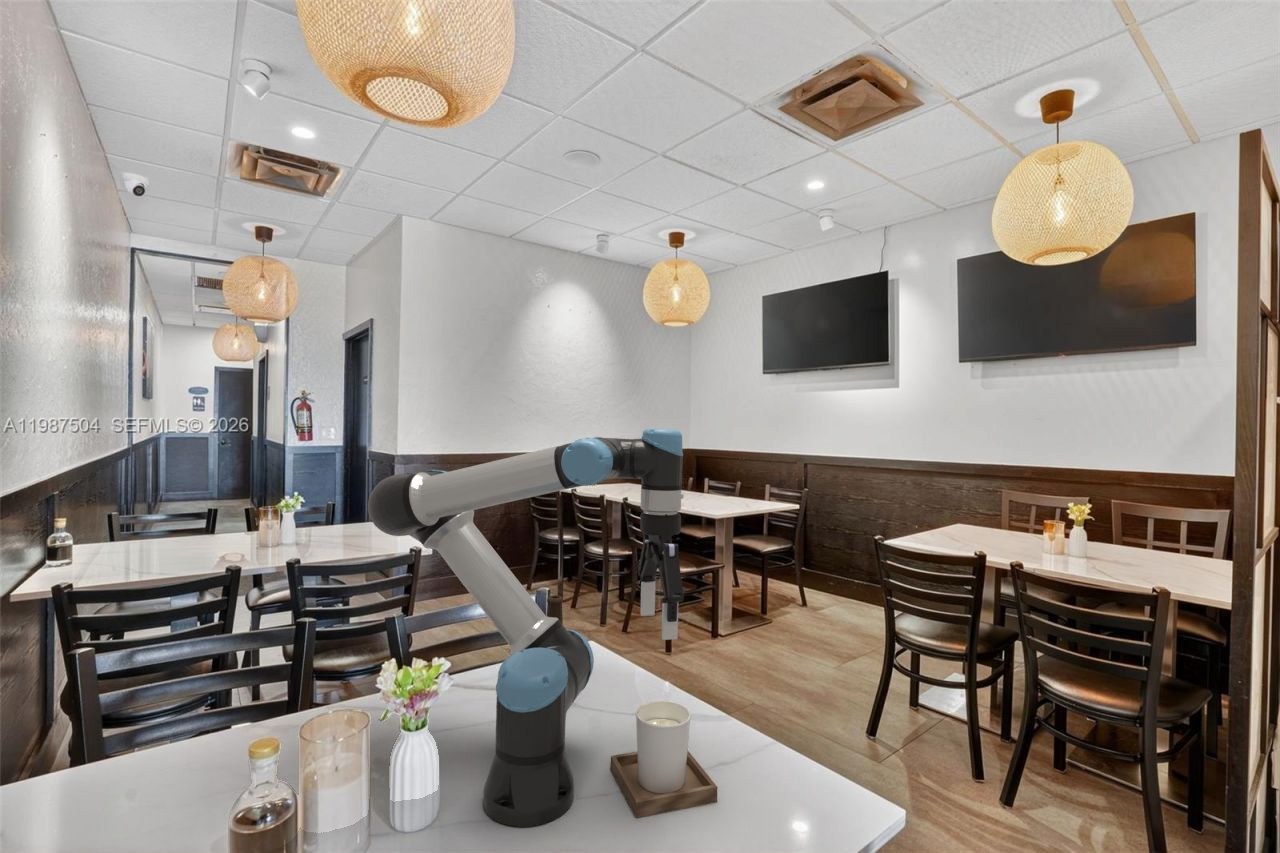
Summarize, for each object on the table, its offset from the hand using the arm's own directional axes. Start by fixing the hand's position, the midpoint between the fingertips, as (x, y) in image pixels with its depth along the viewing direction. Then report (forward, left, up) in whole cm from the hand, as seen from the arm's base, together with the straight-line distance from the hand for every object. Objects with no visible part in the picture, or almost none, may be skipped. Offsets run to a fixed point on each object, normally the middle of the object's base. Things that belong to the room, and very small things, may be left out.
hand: (657, 626), depth 111 cm
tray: (0, -5, -27) cm, 27 cm away
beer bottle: (-12, +33, -27) cm, 45 cm away
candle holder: (0, -5, -26) cm, 26 cm away
